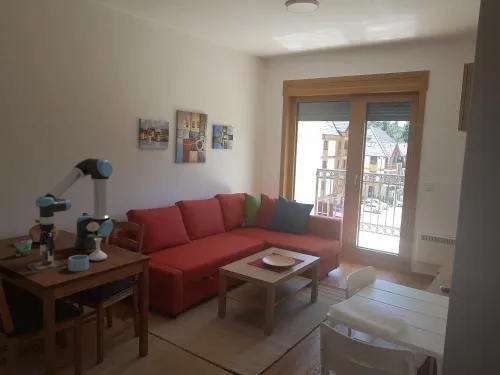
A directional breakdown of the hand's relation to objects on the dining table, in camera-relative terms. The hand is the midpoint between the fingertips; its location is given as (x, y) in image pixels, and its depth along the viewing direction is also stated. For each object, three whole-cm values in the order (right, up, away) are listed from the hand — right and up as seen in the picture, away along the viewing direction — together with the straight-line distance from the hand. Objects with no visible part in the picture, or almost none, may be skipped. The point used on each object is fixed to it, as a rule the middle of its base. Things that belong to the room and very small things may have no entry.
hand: (46, 258), depth 226 cm
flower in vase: (+22, -5, +19) cm, 30 cm away
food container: (-25, -2, +20) cm, 32 cm away
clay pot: (-31, +2, +54) cm, 63 cm away
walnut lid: (0, -5, +1) cm, 5 cm away
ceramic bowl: (+19, -6, 0) cm, 21 cm away
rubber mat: (0, -5, +1) cm, 5 cm away
